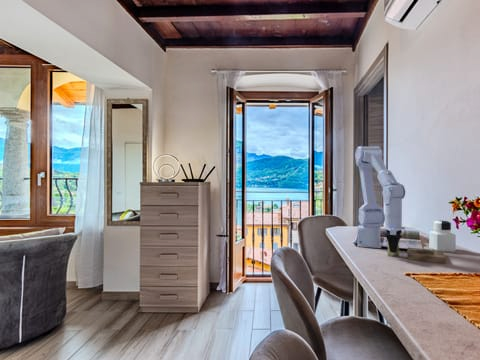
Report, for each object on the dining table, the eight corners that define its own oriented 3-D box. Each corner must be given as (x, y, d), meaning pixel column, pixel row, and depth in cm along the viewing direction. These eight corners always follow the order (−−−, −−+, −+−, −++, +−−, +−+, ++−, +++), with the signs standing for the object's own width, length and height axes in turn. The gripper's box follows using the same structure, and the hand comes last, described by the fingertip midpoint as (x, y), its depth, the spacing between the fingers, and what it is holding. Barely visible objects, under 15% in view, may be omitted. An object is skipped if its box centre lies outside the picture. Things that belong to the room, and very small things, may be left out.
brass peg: (387, 256, 126) (387, 238, 126) (387, 254, 129) (388, 236, 129) (399, 257, 124) (399, 239, 124) (399, 255, 128) (399, 237, 127)
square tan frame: (407, 259, 121) (407, 254, 121) (407, 252, 132) (407, 247, 132) (445, 263, 116) (445, 258, 115) (442, 255, 126) (442, 250, 126)
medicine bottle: (446, 247, 139) (446, 219, 139) (455, 251, 132) (456, 222, 131) (428, 247, 140) (429, 219, 139) (437, 251, 132) (437, 222, 132)
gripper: (405, 218, 118) (405, 255, 118) (404, 213, 131) (404, 247, 131) (384, 217, 121) (384, 253, 121) (385, 212, 134) (385, 245, 134)
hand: (393, 250), depth 127 cm, fingers open, 7 cm apart
